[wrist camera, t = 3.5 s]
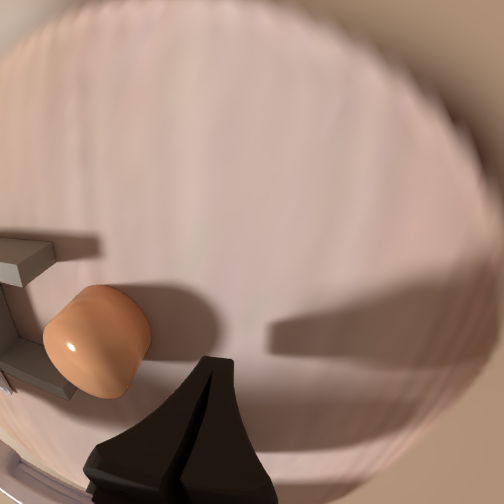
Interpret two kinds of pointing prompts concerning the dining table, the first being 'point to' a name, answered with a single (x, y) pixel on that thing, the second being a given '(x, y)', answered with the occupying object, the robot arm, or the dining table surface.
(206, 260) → the dining table surface
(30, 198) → the dining table surface
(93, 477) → the robot arm
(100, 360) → the tan rounded knob
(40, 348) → the dock
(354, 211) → the dining table surface
